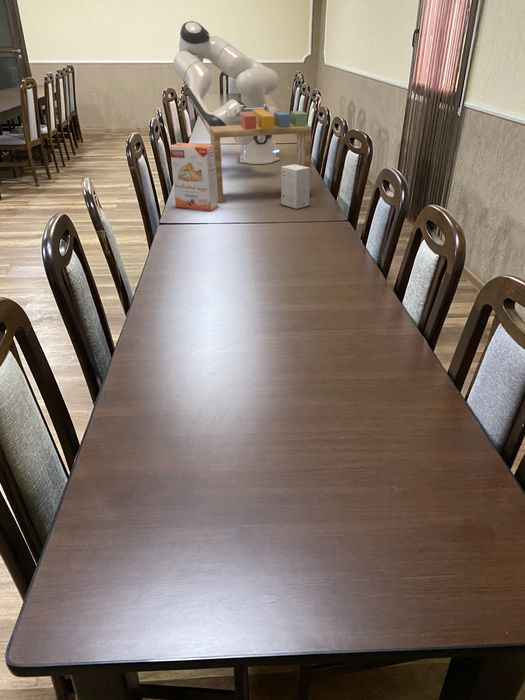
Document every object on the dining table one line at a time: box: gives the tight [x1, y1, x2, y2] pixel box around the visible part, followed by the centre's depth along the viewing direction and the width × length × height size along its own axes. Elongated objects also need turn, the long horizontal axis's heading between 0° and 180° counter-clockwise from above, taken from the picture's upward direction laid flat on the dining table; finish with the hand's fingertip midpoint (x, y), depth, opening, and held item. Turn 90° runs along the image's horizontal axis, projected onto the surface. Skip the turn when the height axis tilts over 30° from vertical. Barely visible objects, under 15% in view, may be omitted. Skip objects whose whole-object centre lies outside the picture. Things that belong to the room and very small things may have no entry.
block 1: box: [241, 113, 256, 129], centre depth 187 cm, size 8×4×4 cm, turn 11°
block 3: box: [290, 110, 308, 127], centre depth 190 cm, size 8×4×4 cm, turn 11°
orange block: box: [252, 109, 274, 129], centre depth 191 cm, size 20×4×4 cm, turn 11°
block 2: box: [274, 111, 291, 127], centre depth 189 cm, size 8×4×4 cm, turn 11°
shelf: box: [209, 123, 312, 204], centre depth 195 cm, size 12×34×24 cm, turn 101°
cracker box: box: [169, 142, 219, 212], centre depth 183 cm, size 14×6×21 cm, turn 68°
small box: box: [280, 163, 311, 209], centre depth 185 cm, size 8×6×13 cm
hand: (254, 106), depth 205 cm, fingers open, 8 cm apart
